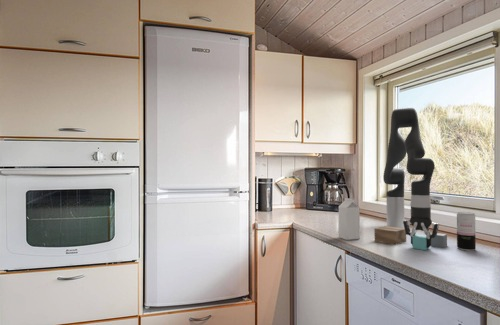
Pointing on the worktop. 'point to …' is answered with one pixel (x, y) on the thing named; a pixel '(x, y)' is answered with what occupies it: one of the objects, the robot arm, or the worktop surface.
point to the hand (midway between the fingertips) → (420, 246)
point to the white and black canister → (466, 231)
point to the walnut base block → (390, 235)
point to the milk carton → (349, 220)
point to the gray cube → (439, 240)
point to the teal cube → (420, 242)
